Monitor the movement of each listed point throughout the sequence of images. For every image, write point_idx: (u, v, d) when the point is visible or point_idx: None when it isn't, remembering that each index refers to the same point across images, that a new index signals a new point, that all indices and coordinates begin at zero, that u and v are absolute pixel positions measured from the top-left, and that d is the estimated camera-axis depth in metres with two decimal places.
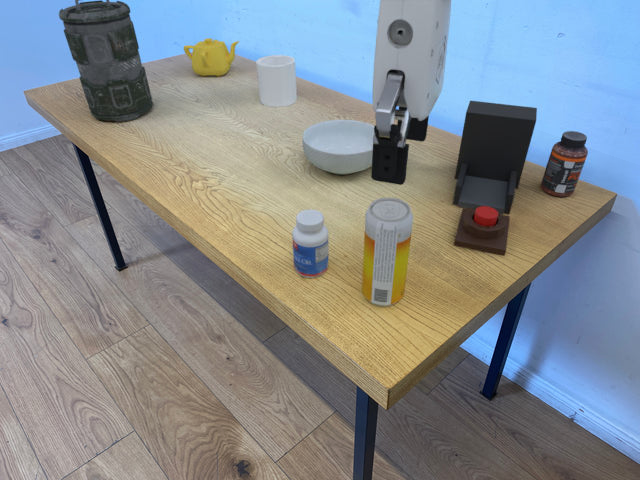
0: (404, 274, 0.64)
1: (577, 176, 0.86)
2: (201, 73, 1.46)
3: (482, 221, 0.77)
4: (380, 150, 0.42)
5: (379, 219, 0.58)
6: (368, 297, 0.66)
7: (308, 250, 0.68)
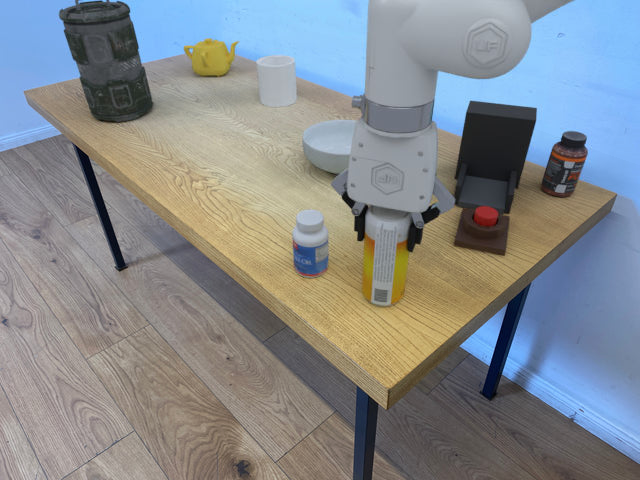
0: (404, 274, 0.64)
1: (577, 176, 0.86)
2: (201, 73, 1.46)
3: (482, 221, 0.77)
4: None
5: (379, 219, 0.58)
6: (368, 297, 0.66)
7: (308, 250, 0.68)
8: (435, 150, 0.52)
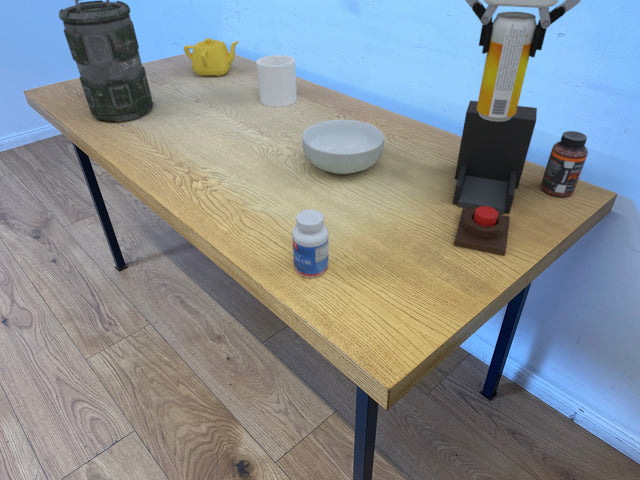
0: (521, 86, 0.72)
1: (577, 176, 0.86)
2: (201, 73, 1.46)
3: (482, 221, 0.77)
4: None
5: (510, 20, 0.66)
6: (486, 112, 0.74)
7: (308, 250, 0.68)
8: None
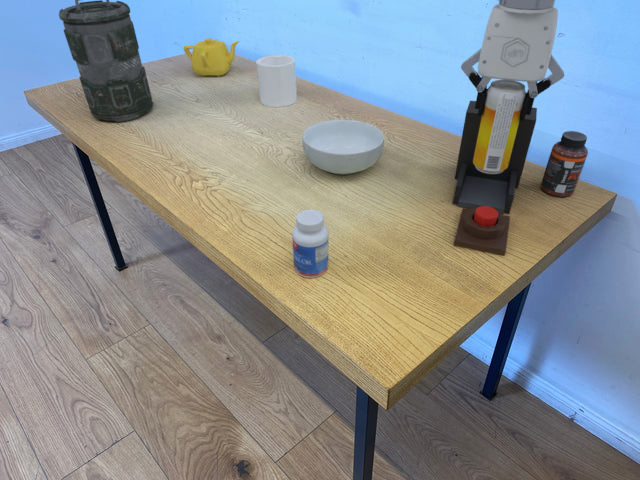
0: None
1: (577, 176, 0.86)
2: (201, 73, 1.46)
3: (482, 221, 0.77)
4: None
5: (502, 91, 0.75)
6: (481, 166, 0.83)
7: (308, 250, 0.68)
8: (556, 26, 0.68)
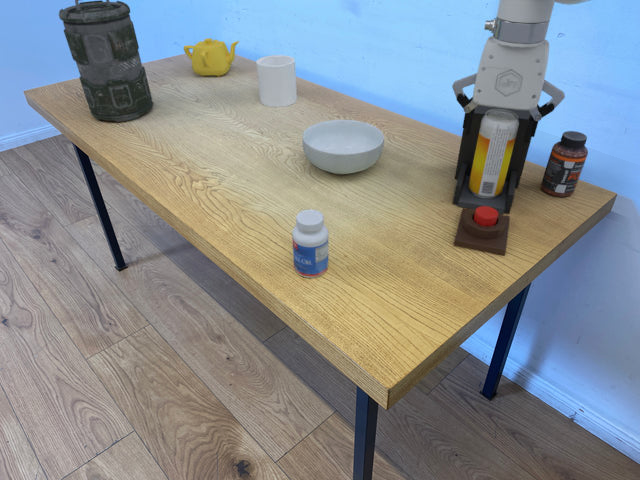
0: (506, 170, 0.84)
1: (577, 176, 0.86)
2: (201, 73, 1.46)
3: (482, 221, 0.77)
4: None
5: (496, 121, 0.78)
6: (476, 191, 0.86)
7: (308, 250, 0.68)
8: (547, 58, 0.71)
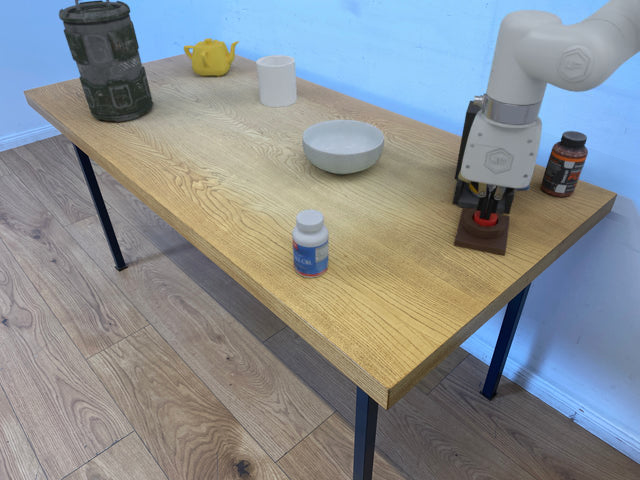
0: None
1: (577, 176, 0.86)
2: (201, 73, 1.46)
3: (481, 224, 0.77)
4: None
5: None
6: (476, 191, 0.86)
7: (308, 250, 0.68)
8: (540, 138, 0.66)
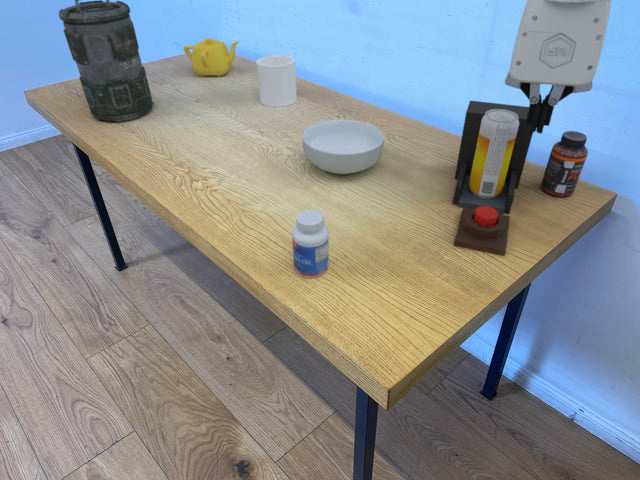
0: (507, 170, 0.84)
1: (577, 176, 0.86)
2: (201, 73, 1.46)
3: (482, 221, 0.77)
4: None
5: (496, 121, 0.78)
6: (476, 191, 0.86)
7: (308, 250, 0.68)
8: (608, 18, 0.56)
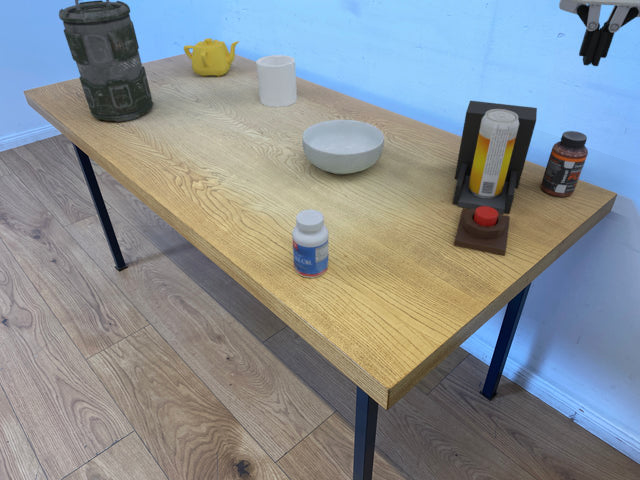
0: (507, 170, 0.84)
1: (577, 176, 0.86)
2: (201, 73, 1.46)
3: (482, 221, 0.77)
4: None
5: (496, 121, 0.78)
6: (476, 191, 0.86)
7: (308, 250, 0.68)
8: None
